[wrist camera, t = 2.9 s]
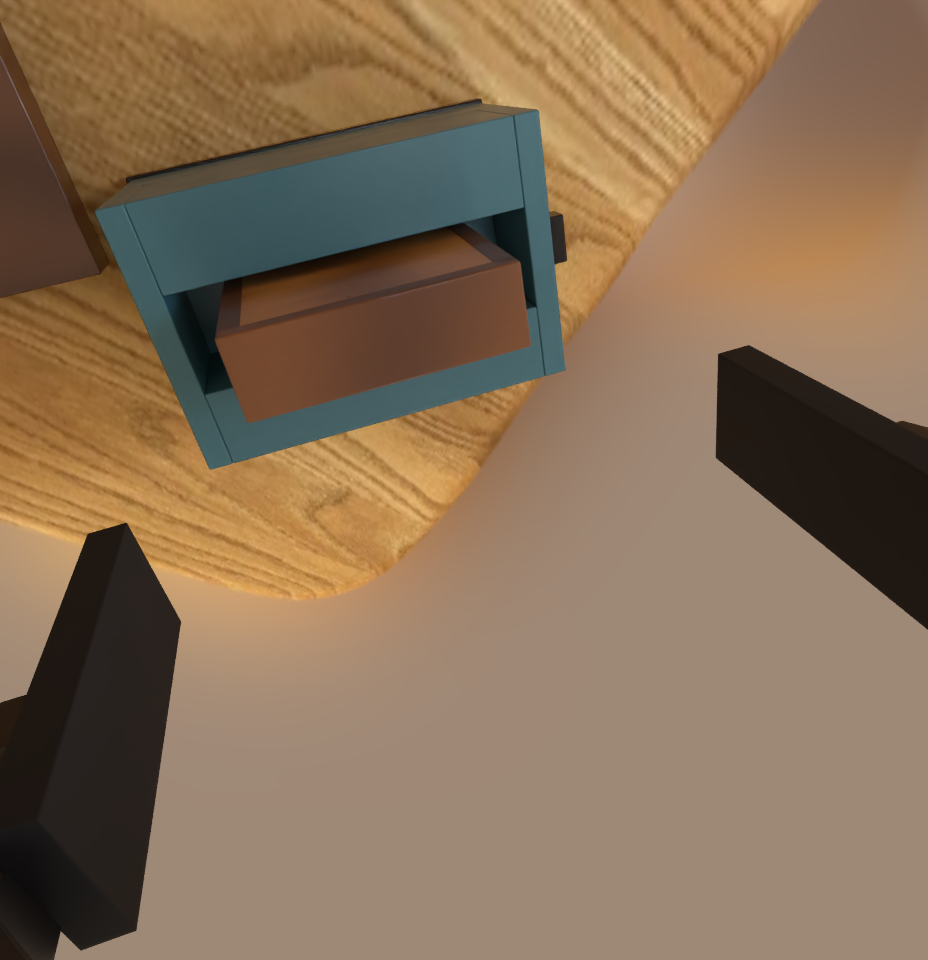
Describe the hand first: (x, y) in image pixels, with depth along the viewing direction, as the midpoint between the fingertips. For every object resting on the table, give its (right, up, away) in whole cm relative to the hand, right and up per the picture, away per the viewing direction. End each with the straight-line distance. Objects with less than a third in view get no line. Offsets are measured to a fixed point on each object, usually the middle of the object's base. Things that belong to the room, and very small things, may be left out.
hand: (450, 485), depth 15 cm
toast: (-5, +10, +16) cm, 19 cm away
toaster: (-6, +12, +19) cm, 23 cm away
